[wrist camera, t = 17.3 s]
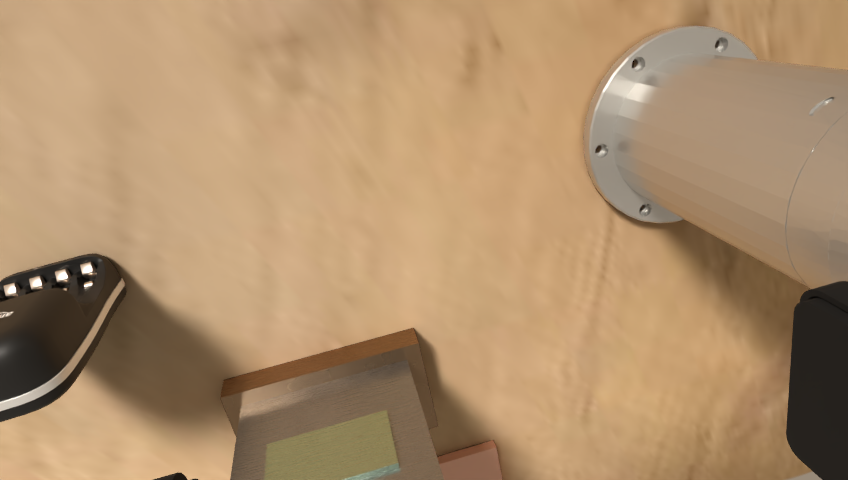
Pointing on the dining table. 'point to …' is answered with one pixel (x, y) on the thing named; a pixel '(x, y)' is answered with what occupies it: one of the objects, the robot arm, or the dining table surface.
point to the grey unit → (336, 416)
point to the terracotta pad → (472, 463)
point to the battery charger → (52, 328)
